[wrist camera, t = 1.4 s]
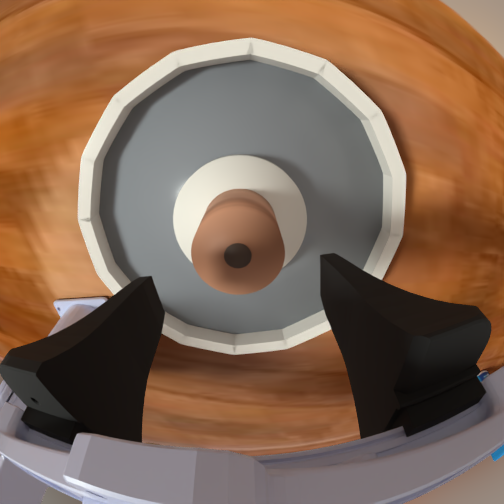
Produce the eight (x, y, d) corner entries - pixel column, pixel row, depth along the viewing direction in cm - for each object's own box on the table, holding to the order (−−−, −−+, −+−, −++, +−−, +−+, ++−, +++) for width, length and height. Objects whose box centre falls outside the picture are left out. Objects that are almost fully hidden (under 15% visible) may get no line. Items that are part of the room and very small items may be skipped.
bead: (279, 251, 19) (288, 289, 15) (211, 260, 19) (202, 299, 15) (271, 184, 17) (280, 204, 13) (197, 194, 17) (181, 218, 13)
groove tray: (377, 314, 25) (386, 329, 23) (144, 341, 26) (138, 358, 24) (378, 50, 14) (393, 43, 12) (71, 100, 15) (53, 99, 13)
